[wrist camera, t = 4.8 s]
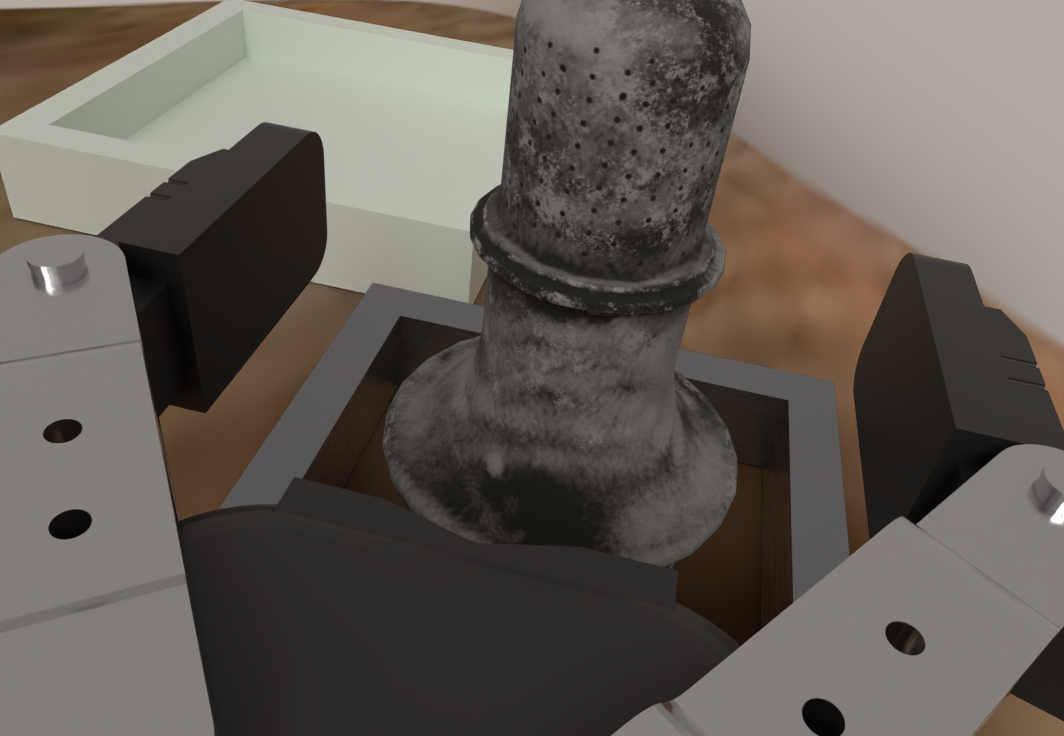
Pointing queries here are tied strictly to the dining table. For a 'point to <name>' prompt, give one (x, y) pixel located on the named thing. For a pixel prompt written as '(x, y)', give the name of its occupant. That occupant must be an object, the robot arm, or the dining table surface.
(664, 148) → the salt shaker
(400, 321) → the holder
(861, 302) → the dining table surface
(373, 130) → the tray
